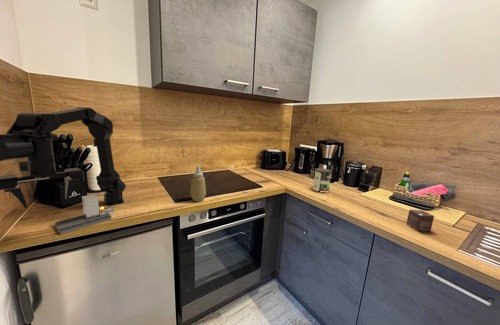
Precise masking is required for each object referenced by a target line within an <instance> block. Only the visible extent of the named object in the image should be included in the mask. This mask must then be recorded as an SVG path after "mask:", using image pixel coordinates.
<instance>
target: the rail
mask: <svg viewBox="0 0 500 325" xmlns="http://www.w3.org/2000/svg"><path fill="white" fill-rule="evenodd" d="M104 208H105V206H104V205H99V212H100V213H103V212H104ZM110 220H112V216H111V214H107V215H103V216H100V217H96V218H92V219H89V220H86V219H85V217H84V214H80V215H77V216H71V217H68V218H65V219H61V220H56V221H54V226H55V228H56V229H57V231H58V233H59V234H60V235H63V234H66V233H70V232H74V231H77V230H80V229H83V228H87V227H90V226H93V225H97V224H101V223H103V222H107V221H110Z"/></svg>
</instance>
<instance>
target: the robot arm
mask: <svg viewBox="0 0 500 325" xmlns="http://www.w3.org/2000/svg"><path fill="white" fill-rule="evenodd" d="M78 121H80V122H81V123H82V124H83V125H84V126H86V127H87V129H88V132H89V134H90V135H91V136H92V137H93V138H94V140H95V146H96V151H97V156H98V162H99V167H100V172H99V174H98V175H96V178H95V180H96V185H98V188H99V189H100V191H101V192H104V194H103V202H104V204H106V205H107V206H108V207H111V206H115V205H118V204H123V203H125V200H124V197H123V192H124V191H125V189H126V187H127V184H126V183H124V182H123V181H122V179H121V176H120V174H119V173H118V171H117V170H116V169H115V165H114V160H113V153H112V145H111V136H112V135H113V134H114V129H113V128H114V124H113V122H112V120H110V118H107V117H106V116H105V115H103V114H101V113H99V112H97V111H96V110H94V108H91V107H86V106H85V107H84V106H83V107H82V106H79V107H76V108H71V109H66V110H58V111H53V112H49V113H48V112H20V113H18V114H17V115H16V117H15V121H14V122H13V124H11V126H10V127H9V129H8V130H7V132H6V133H5V134H2V133H0V162H4V161H9V160H17V159H23V158H24V159H25V158H26V160H25V161H18V162H17V164H18V168H19V169H18V170H19V172H20V173H27V174H28V176H18V177H17V174H9V175H8V174H7V175H0V191H4V193H8V192H9V193H11V194H12V195H13V196H15V197H16V198H17V200H18V201H19V202H20V203H21V205H22V206H23V208H25V209H27V208H28V204H27V201H26V198H25V196H24V194H23V191H22V188H21V186H20V184H26V183H33V182H42V181H48V180H57V179H63V178H64V184H65V186H64V195H65V196H64V197H65V198H64V199H65V200H66V201H68V200H69V198H70V195H71V194H72V191H73V188H74V187H75V185H76V183H77V182H80V180H82V179H84V178H85V172H84V170H82V169H81V168H79V167H73V168H65V169H64V171H62V172H61V171H59V172H57V171H56V168H57V167H56V162H55V154H54V148H53V141H54V140H55V141H56V140H57V141H58V140H59V137H58V136H56V135H55V134H54V133H53V132H55V131H57V130H58V129H60V127H61V126H63V125H67V124H71V123H75V122H78Z"/></svg>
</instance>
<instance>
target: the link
mask: <svg viewBox="0 0 500 325" xmlns="http://www.w3.org/2000/svg"><path fill="white" fill-rule="evenodd" d="M81 199H82V201H81V202H82V211H83V215H84V217H85V219H86V220H89V219H92V218H96V217H100V216H103V215H107V214H110V215H113V214H115V212H116V211H115V209H112V207H111V206H107V207H104V212H103V213H100V212H99V207H100V205H99V197H98V195H97V194H95V193H93V194H92V193H91V194H89V195H84V196H83V195H82V196H81Z"/></svg>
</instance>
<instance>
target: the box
mask: <svg viewBox="0 0 500 325" xmlns="http://www.w3.org/2000/svg"><path fill="white" fill-rule="evenodd" d="M434 219H435V215H433V214H431V213H429V212H427V211H425V210H423V209H409V211H408V215H407V218H406V223H407V224H408V225H410V226H411V227H413V228H415V229H416V230H420V231H419V232H431V230H432V226H433V223H434ZM408 225H407V226H408ZM410 226H409V227H410ZM411 227H410V228H411ZM413 228H412V229H413ZM415 229H414V230H415ZM416 230H415V231H416Z"/></svg>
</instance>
